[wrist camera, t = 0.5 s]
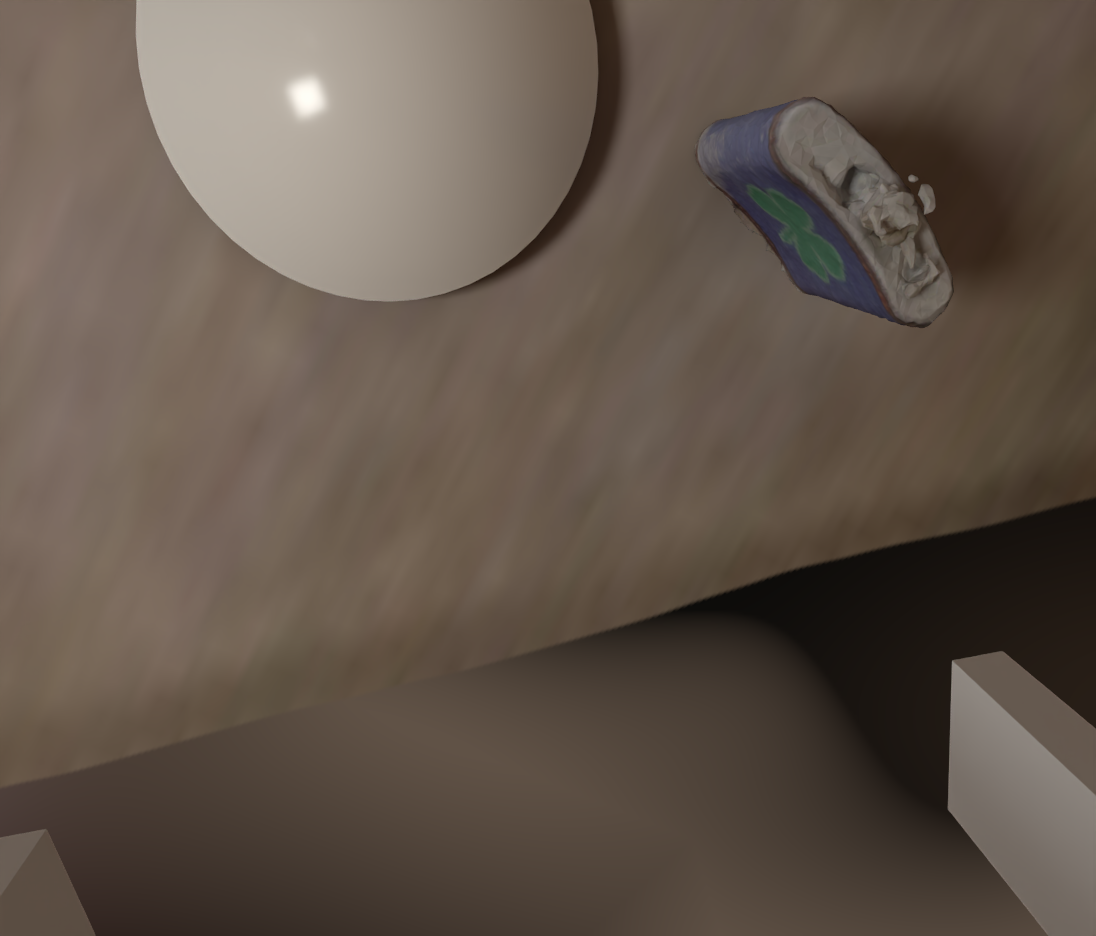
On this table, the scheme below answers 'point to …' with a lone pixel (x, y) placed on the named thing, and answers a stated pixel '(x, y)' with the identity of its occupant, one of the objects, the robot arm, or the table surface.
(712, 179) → the blue hip flask
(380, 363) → the table surface
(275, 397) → the table surface
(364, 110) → the plate
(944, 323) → the table surface
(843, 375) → the table surface
